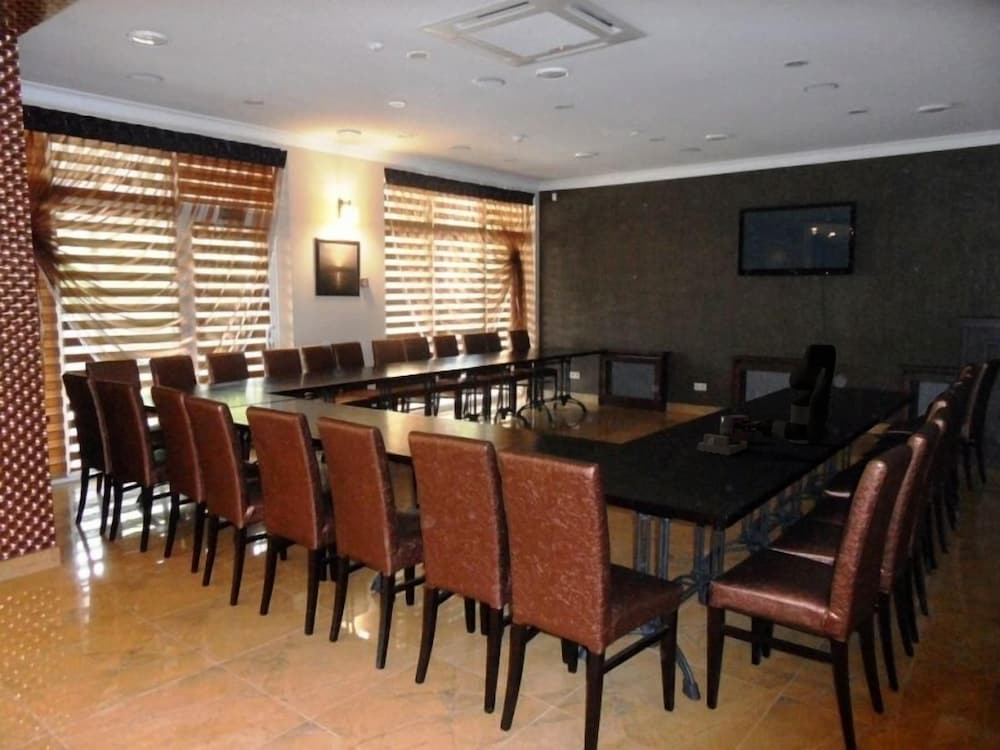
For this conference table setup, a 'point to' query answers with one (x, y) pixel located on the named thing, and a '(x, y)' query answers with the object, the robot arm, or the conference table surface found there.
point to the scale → (721, 444)
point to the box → (738, 432)
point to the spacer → (726, 426)
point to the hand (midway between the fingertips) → (738, 424)
